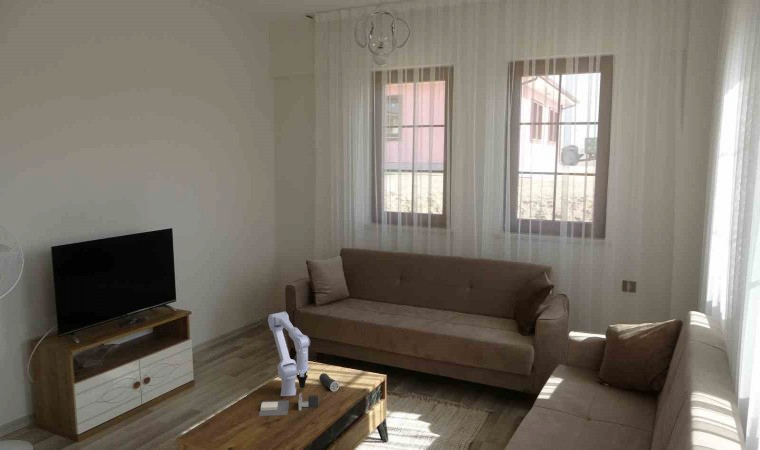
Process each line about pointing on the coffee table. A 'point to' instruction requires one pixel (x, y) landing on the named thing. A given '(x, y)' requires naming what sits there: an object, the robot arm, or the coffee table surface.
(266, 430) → the coffee table surface
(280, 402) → the mat
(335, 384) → the flashlight
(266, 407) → the cream rectangular block
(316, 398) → the mounted block
